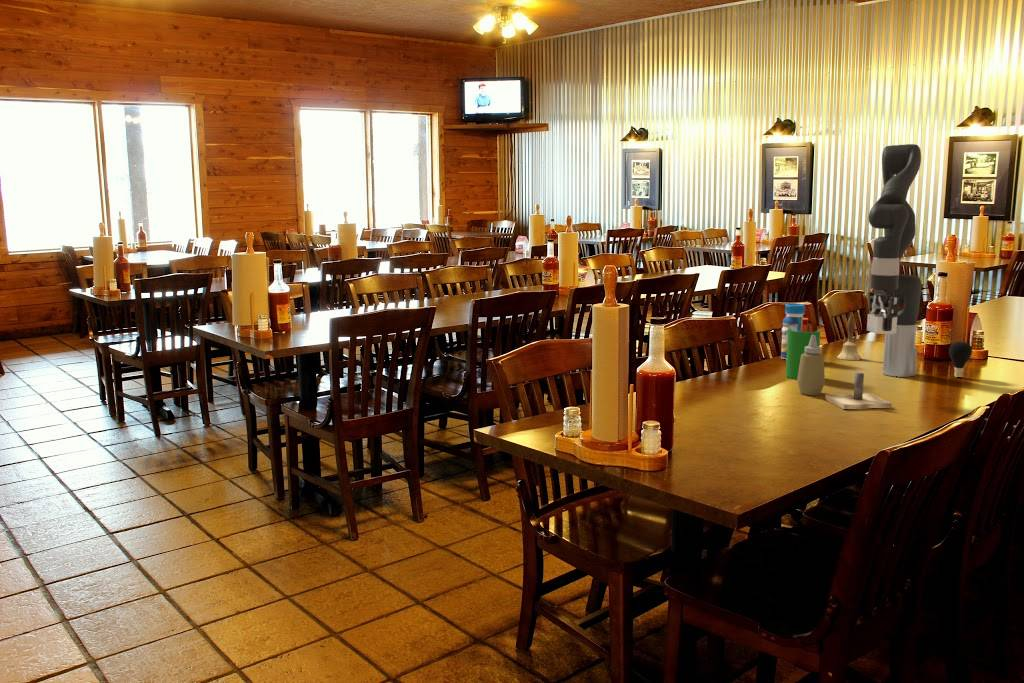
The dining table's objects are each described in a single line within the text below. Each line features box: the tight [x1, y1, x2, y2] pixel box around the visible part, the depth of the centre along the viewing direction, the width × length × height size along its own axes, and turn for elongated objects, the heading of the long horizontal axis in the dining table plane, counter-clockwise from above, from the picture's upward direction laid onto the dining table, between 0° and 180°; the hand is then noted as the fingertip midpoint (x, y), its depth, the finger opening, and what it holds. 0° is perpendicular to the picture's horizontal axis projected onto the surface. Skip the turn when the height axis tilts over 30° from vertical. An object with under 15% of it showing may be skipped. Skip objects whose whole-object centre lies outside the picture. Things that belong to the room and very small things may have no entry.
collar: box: [866, 312, 897, 335], centre depth 264 cm, size 6×6×5 cm
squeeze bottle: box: [796, 335, 826, 396], centre depth 268 cm, size 8×8×18 cm
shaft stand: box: [824, 372, 893, 410], centre depth 256 cm, size 14×12×9 cm
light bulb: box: [948, 340, 973, 378], centre depth 289 cm, size 7×7×12 cm
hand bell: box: [836, 314, 862, 361], centre depth 321 cm, size 8×8×16 cm
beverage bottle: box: [780, 302, 806, 360], centre depth 319 cm, size 8×8×20 cm
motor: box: [785, 317, 821, 380], centre depth 290 cm, size 10×9×20 cm
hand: (881, 328), depth 264 cm, fingers closed on collar, 6 cm apart
